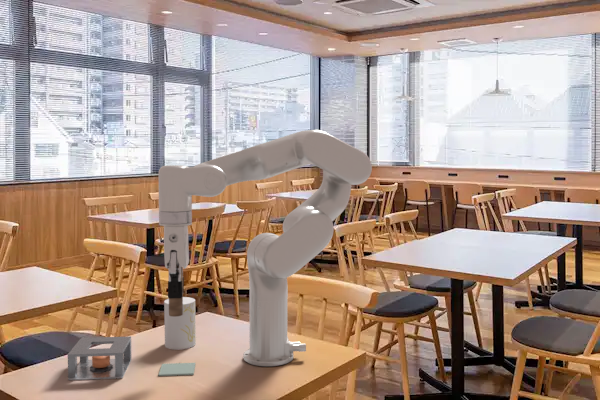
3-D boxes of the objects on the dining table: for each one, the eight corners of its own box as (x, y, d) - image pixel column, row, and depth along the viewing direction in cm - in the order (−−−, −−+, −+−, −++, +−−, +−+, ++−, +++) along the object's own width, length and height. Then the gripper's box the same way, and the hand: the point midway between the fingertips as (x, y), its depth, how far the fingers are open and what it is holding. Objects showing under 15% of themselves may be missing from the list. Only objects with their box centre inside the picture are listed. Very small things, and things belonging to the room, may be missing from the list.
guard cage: (131, 360, 148) (131, 336, 148) (122, 378, 136) (122, 352, 136) (81, 361, 147) (81, 337, 146) (68, 380, 135) (67, 354, 135)
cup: (188, 350, 156) (188, 305, 155) (159, 348, 157) (159, 303, 156) (200, 340, 163) (199, 297, 162) (172, 338, 165) (171, 296, 164)
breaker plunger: (111, 361, 144) (111, 353, 144) (108, 367, 140) (107, 358, 140) (94, 362, 143) (94, 353, 143) (90, 368, 139) (90, 359, 139)
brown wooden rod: (183, 312, 142) (182, 258, 141) (182, 316, 139) (181, 261, 138) (169, 312, 142) (169, 259, 141) (168, 316, 139) (167, 261, 138)
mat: (195, 364, 146) (195, 362, 146) (193, 374, 139) (193, 373, 139) (162, 365, 145) (162, 363, 145) (158, 376, 138) (158, 374, 138)
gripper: (189, 222, 131) (189, 304, 132) (194, 214, 147) (194, 287, 149) (154, 222, 130) (155, 305, 132) (163, 214, 146) (163, 288, 148)
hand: (176, 295), depth 140 cm, fingers closed on brown wooden rod, 3 cm apart
